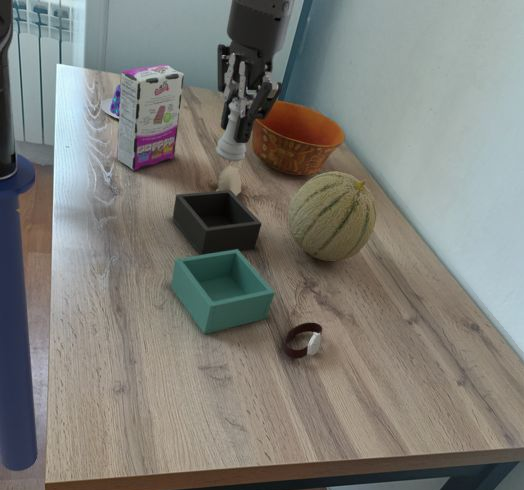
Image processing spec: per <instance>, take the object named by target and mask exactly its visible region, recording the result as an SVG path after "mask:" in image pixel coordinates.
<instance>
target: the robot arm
mask: <svg viewBox="0 0 524 490" xmlns="http://www.w3.org/2000/svg"><path fill="white" fill-rule="evenodd" d="M295 1H296V0H231V5H230V10H229V15H228V21H227V27H226V35H227V37H228V38H229V39H230V40H231V41H230V44H221V43H219V44H218V45H217V53H216V55H217V57H216V60H217V61H216V62H217V91H218V92H219V93H222V101H223V102H224V103H223V109H222V113H221V114H222V115H221V121H220V128H221V129H222V130H223V131H226V128H227V125H228V122H229V118H228V115H230V113H231V110H230V108H229V104H230V103H231V102H232V101H233V99H234V98H235V97H237V98H238V100H237V101H239V100H240V99H241V104H240V115H238V120H237V125H236V129H235V134H234V141H236V142H237V143H244V144H247V143H248V142H249V140H250V139H251V137H252V128H253V123H254V120H255V119H266V117H267V116H268V114H269V112H270V110H271V109H272V107H273V105H274V103H275V102H276V101H278V98H279V96H280V95H281V93H282V91H283V88H284V87H283V83H282V82H280V81H276V79H275V77H274V75H273V72H274V59H275V55H276V54H277V53H278V52H281V50H282V49H283V48H284V45H285V41H286V36H287V33H288V29H289V25H290V21H291V17H292V13H293V9H294V5H295ZM13 37H14V0H0V182H1V181H5V180H8V179H10V178H12V177H14V176H15V175H16V173H17V171H18V168H17V154H18V149H17V146H16V138H15V125H14V111H13V99H12V84H11V83H12V82H11V73H10V56H9V52H10V48H11V45H12V42H13ZM249 91H251V92H249ZM250 101H252V102H251V103H252V104H251V103H250ZM248 102H249V103H250V104H251V106H250V108H248ZM260 108H261V109H260Z"/></svg>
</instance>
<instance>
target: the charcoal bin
mask: <svg viewBox="0 0 524 490" xmlns="http://www.w3.org/2000/svg"><path fill="white" fill-rule="evenodd" d="M171 221H172V223H173V224H174V225H175V227H176V228H177V229H178V231H180V233H181V235H183V236H184V238H185V240H187V242H188V243H189V244H190V245H191V247H192V248H193V249H194V251H195V252H196V253H197V254H198V255H204V254H211V253H217V252H223V251H230V250H236V249H238V250H239V251H240V252H243V251H248V250H250V251H251V250H254V249H256V245H257V242H258V239H259V236H260V232H261V228H262V222H261V221H260V220H259V219H258V218H257V216H255V215H254V213H253V212H252V211H251V210H250V209H249V208H248V207H247V206H246V205H245V203H244V202H242V200H241V199H239V197H238V195H237V196H236V195H235V194H234V193H233V192H232V191H231V190H223V191H216V190H212V191H201V192H200V191H199V192H190V193H189V192H188V193H179V194H175V200H174V207H173V213H172V220H171Z"/></svg>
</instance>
